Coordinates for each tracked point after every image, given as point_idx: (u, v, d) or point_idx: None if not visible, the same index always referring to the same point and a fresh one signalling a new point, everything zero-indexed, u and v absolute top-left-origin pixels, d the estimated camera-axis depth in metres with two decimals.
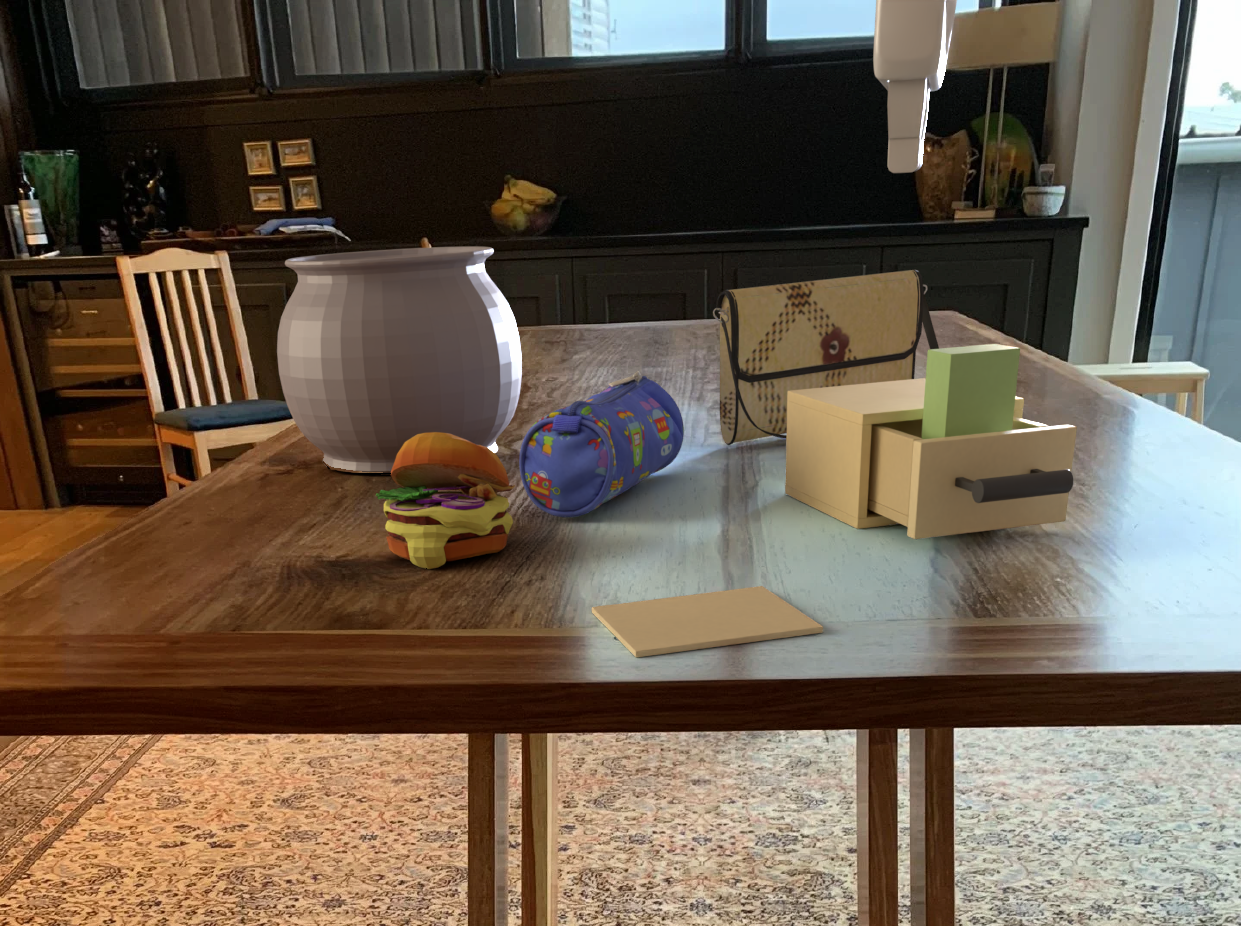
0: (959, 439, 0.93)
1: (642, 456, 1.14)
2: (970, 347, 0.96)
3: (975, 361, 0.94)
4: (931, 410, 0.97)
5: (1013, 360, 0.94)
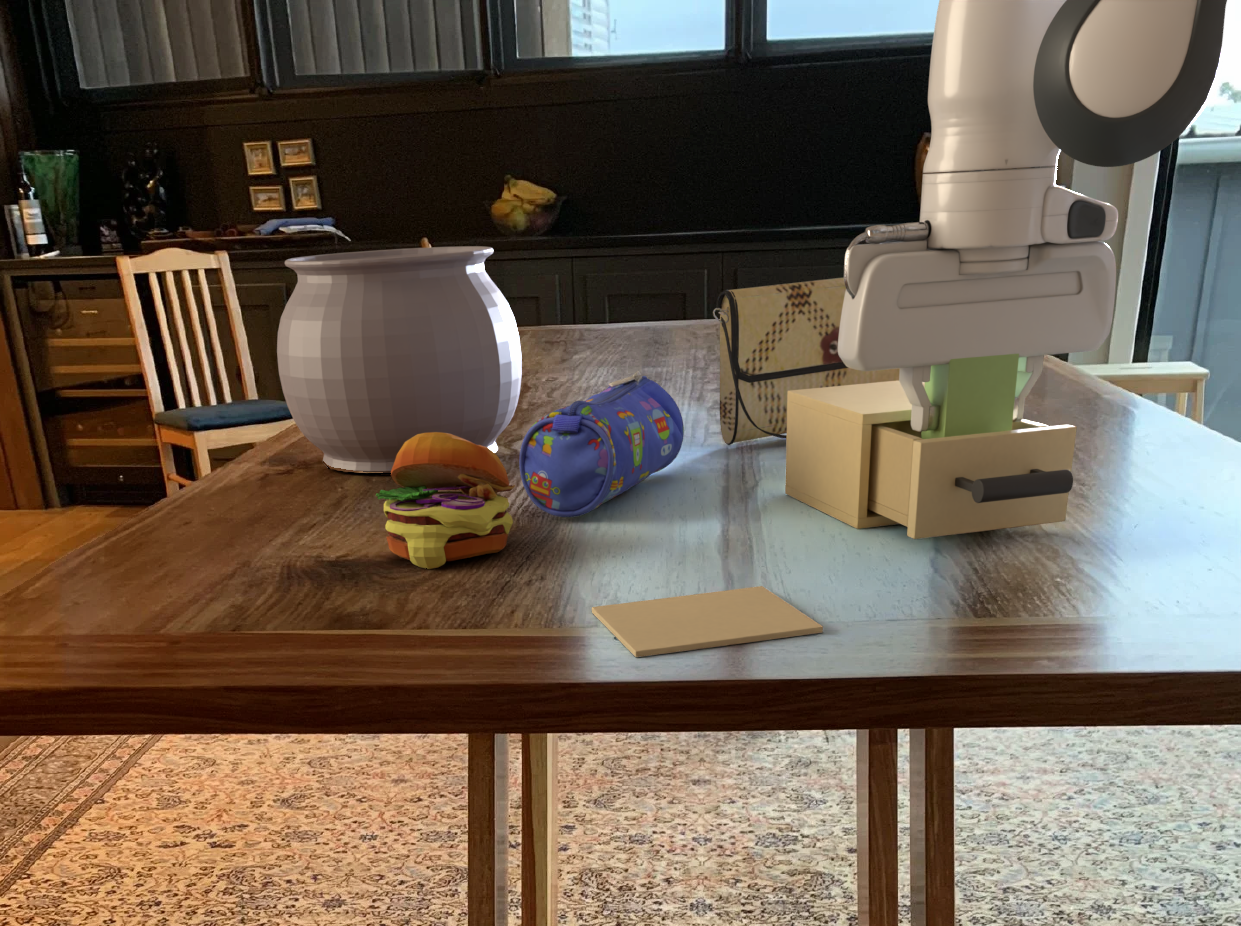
0: (959, 439, 0.93)
1: (642, 456, 1.14)
2: None
3: (975, 361, 0.94)
4: None
5: (1012, 359, 0.94)
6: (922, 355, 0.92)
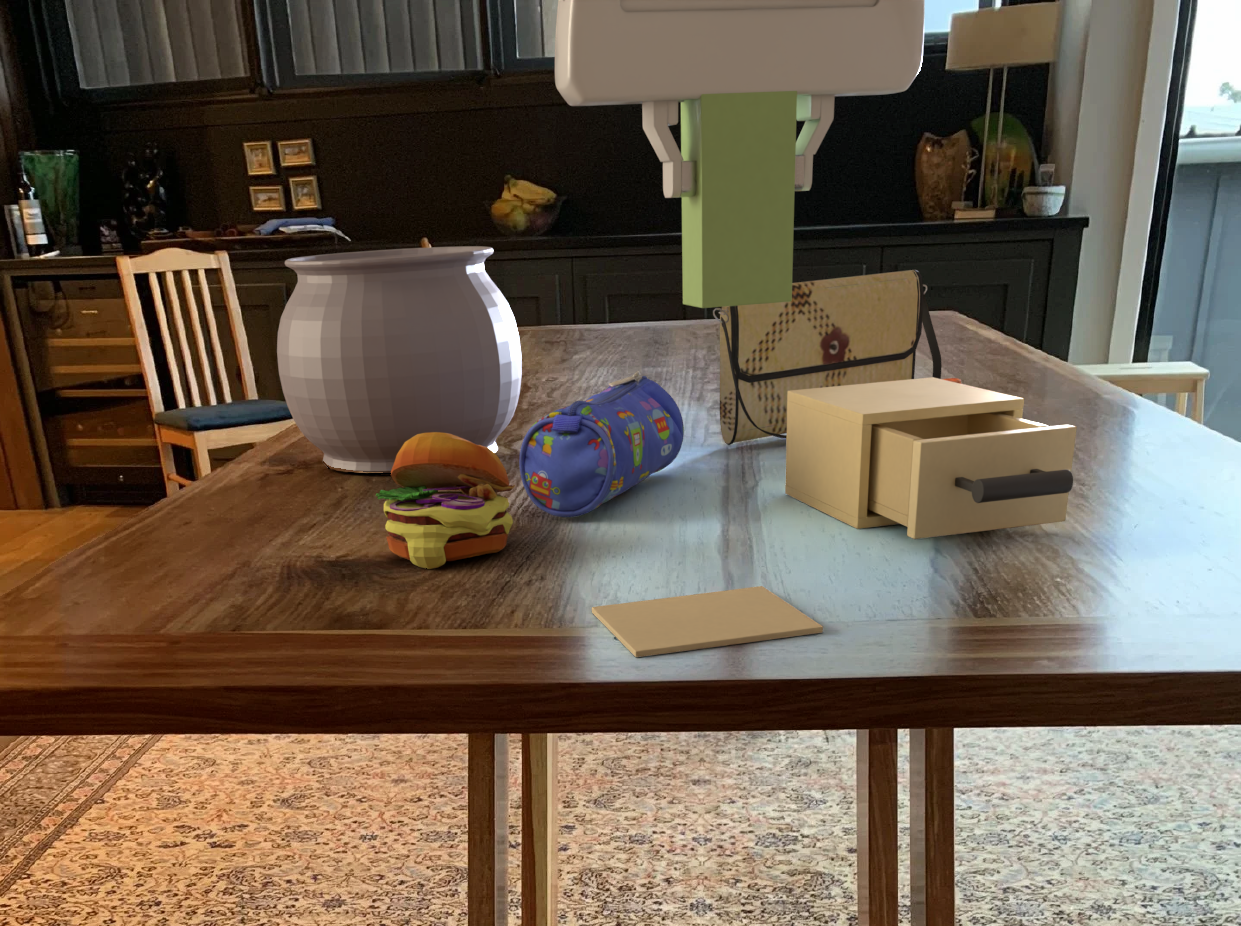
0: (959, 439, 0.93)
1: (642, 456, 1.14)
2: None
3: (736, 96, 0.70)
4: None
5: (788, 96, 0.71)
6: (662, 82, 0.69)
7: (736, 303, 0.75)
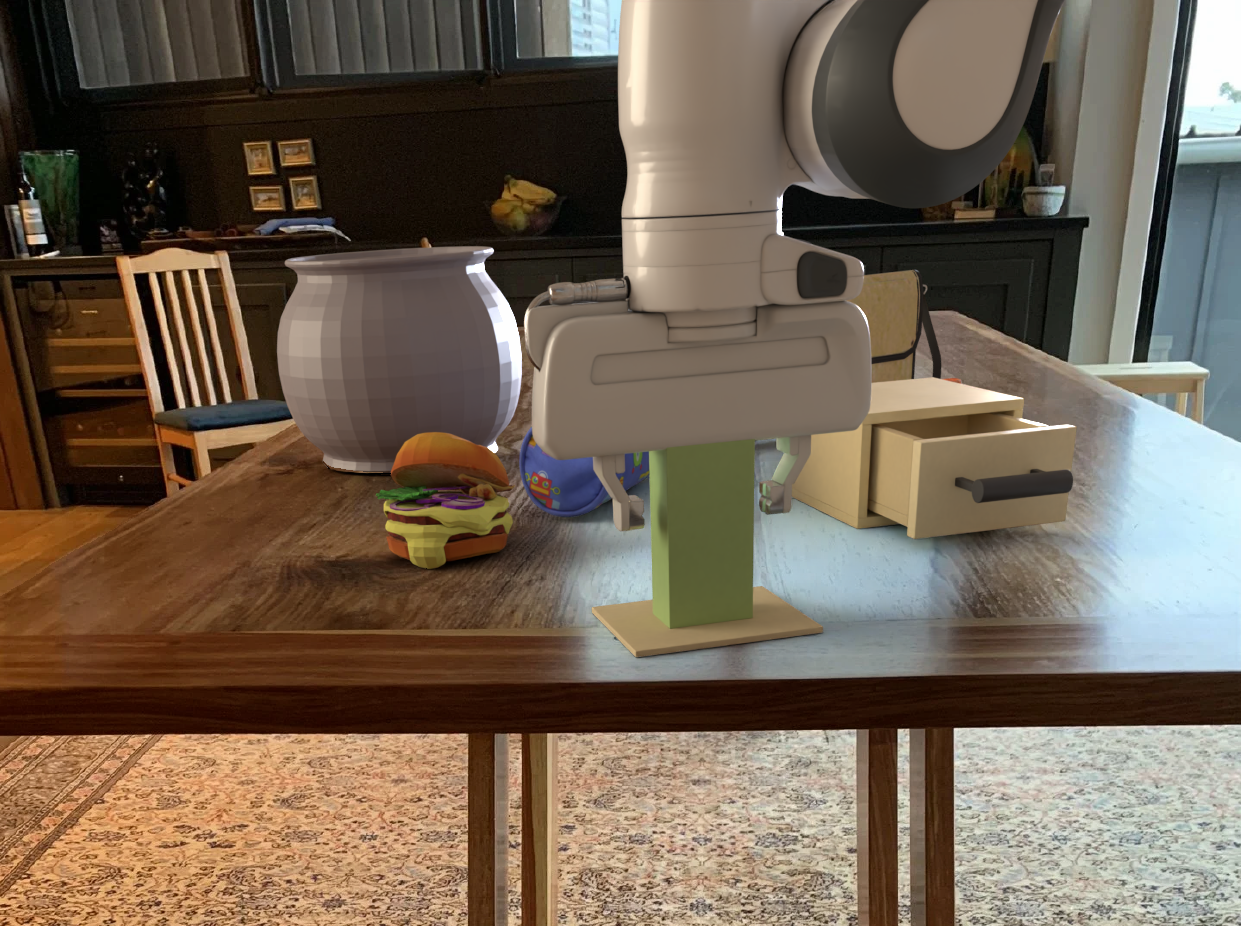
0: (959, 439, 0.93)
1: (642, 456, 1.14)
2: None
3: (699, 453, 0.77)
4: (656, 508, 0.80)
5: (747, 450, 0.77)
6: (630, 440, 0.75)
7: (701, 623, 0.81)
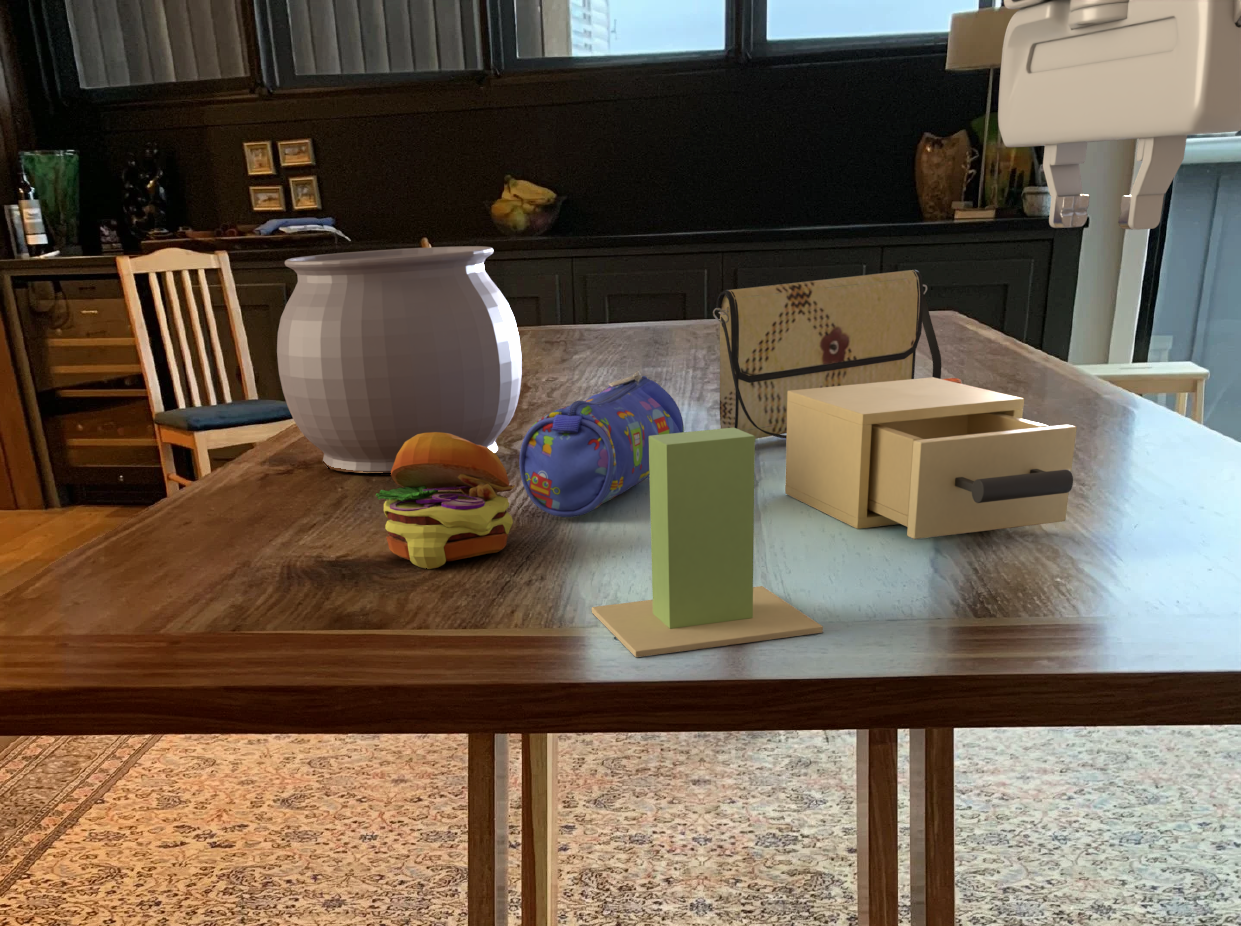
0: (959, 439, 0.93)
1: (642, 456, 1.14)
2: (700, 433, 0.79)
3: (699, 453, 0.77)
4: (656, 508, 0.80)
5: (747, 450, 0.77)
6: None
7: (701, 623, 0.81)
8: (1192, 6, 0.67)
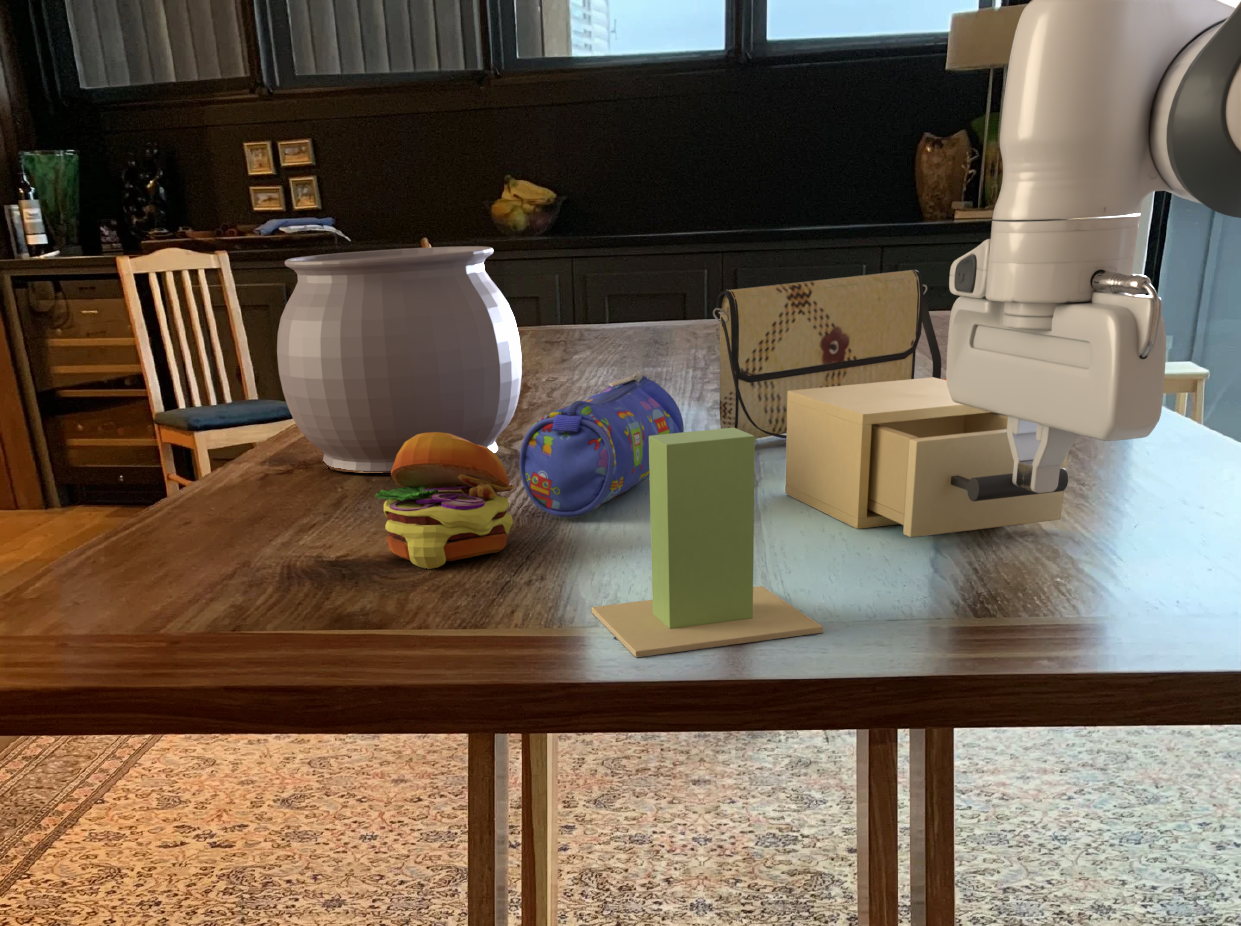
0: (954, 438, 0.93)
1: (642, 456, 1.14)
2: (700, 433, 0.79)
3: (699, 453, 0.77)
4: (656, 508, 0.80)
5: (747, 450, 0.77)
6: None
7: (701, 623, 0.81)
8: (1103, 339, 0.78)
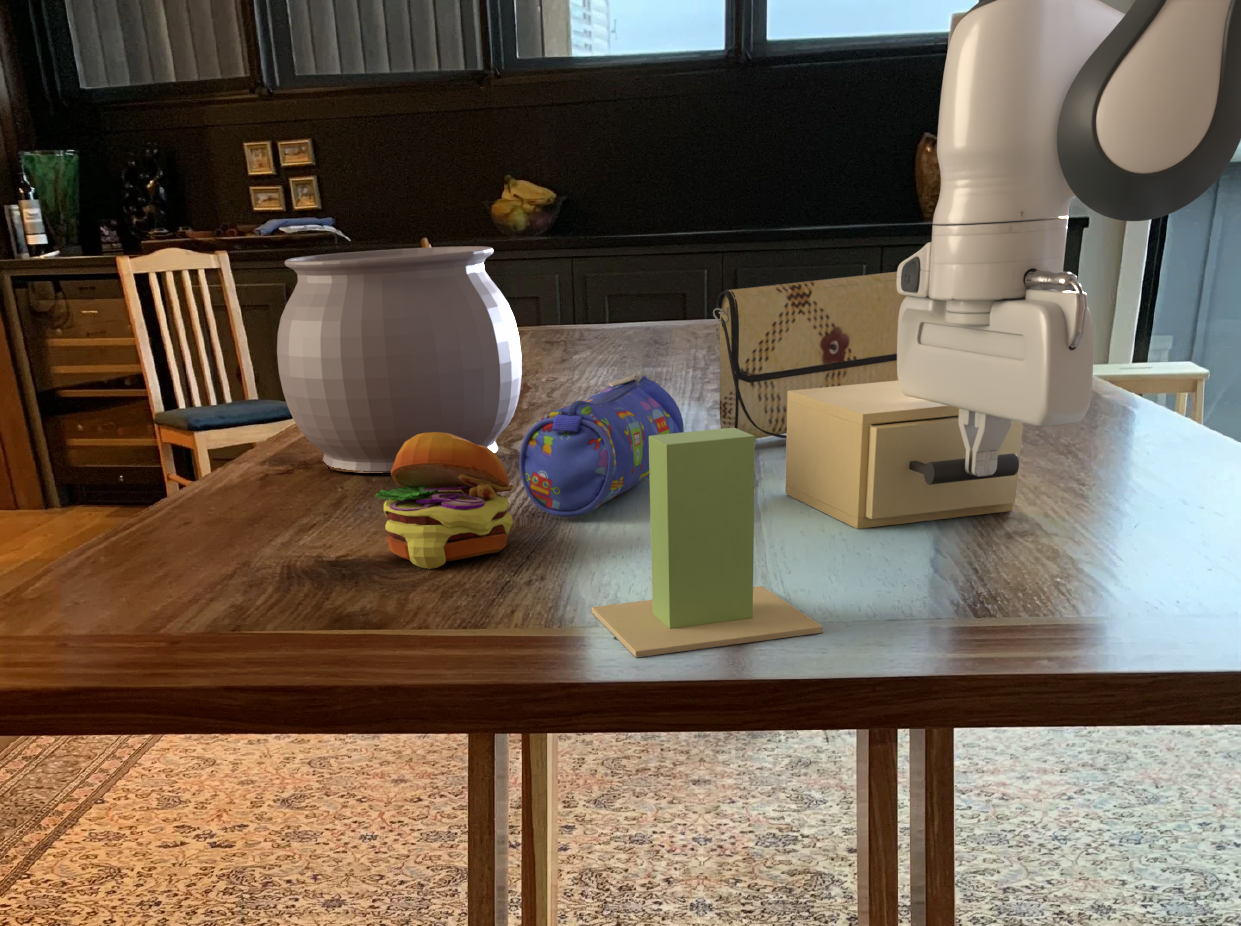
0: (912, 425, 0.99)
1: (642, 456, 1.14)
2: (700, 433, 0.79)
3: (699, 453, 0.77)
4: (656, 508, 0.80)
5: (747, 450, 0.77)
6: None
7: (701, 623, 0.81)
8: (1035, 332, 0.84)
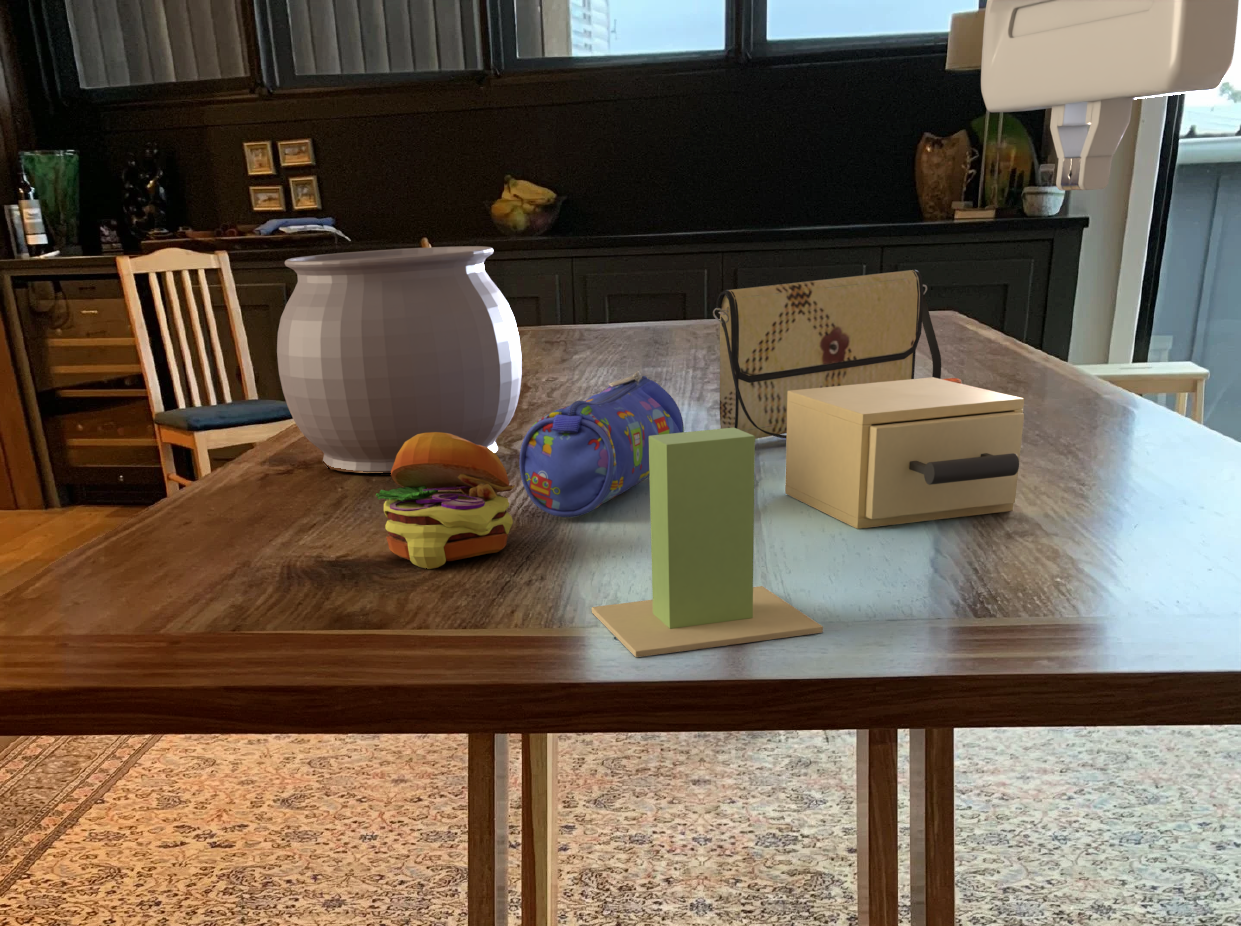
0: (912, 425, 0.99)
1: (642, 456, 1.14)
2: (700, 433, 0.79)
3: (699, 453, 0.77)
4: (656, 508, 0.80)
5: (747, 450, 0.77)
6: None
7: (701, 623, 0.81)
8: None
